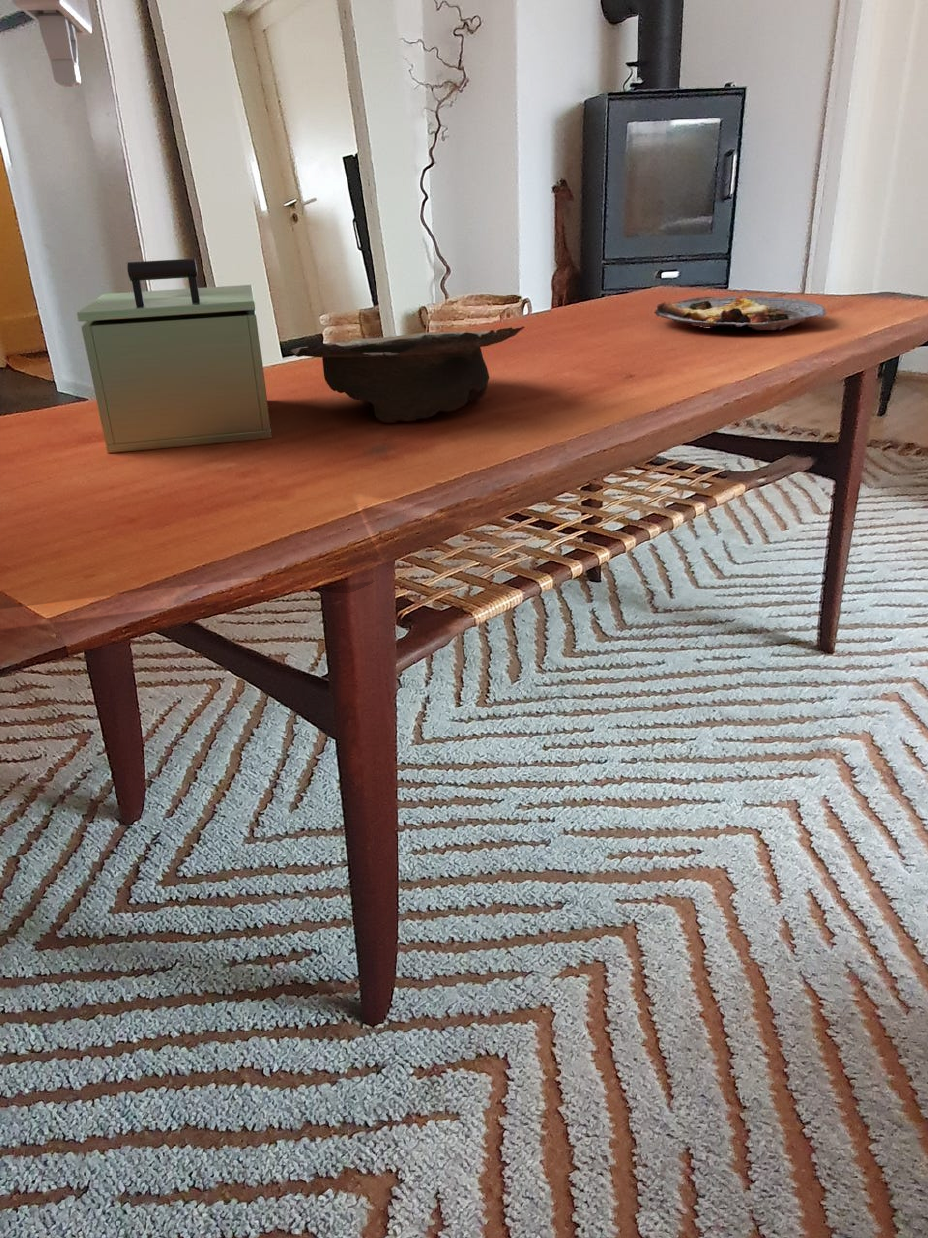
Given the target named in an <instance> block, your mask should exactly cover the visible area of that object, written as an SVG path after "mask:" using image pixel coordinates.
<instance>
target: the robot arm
mask: <svg viewBox="0 0 928 1238" xmlns="http://www.w3.org/2000/svg"><path fill="white" fill-rule="evenodd" d="M10 2H11V3H12V4H13V5H14V6H16V7H17V8H18V9H20V10H21V11H22V12H23V13H24V14H26V15H27V16H29V17H30V18H32V19H33V20H34V21H36V22H37V23H38V24H39V25H38V26H39V30H40V35H41V38H42V41H43V43H44V44H43V45H44V46H45V50H46V53H47V55H48V58H49V61H50V66H51V70H52V75H53V80H54V81H55V83H57V84H58V85H60V86H62V87H64V88H74V87H75V88H77V87H79V86H80V85H81V84H82V79H81V73H80V72H81V71H80V67H79V53H78V52H79V51H78V39H77V37H89V36H91V35H92V33H93V24H92V23H93V22H92V16H91V10H90V6H89V0H10Z"/></svg>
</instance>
